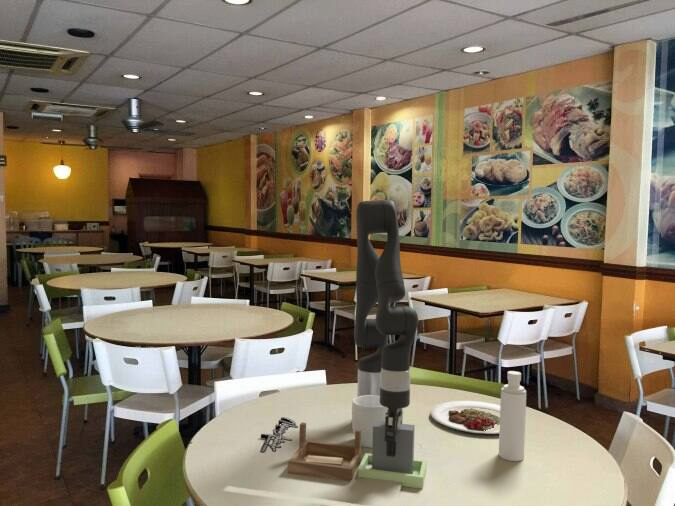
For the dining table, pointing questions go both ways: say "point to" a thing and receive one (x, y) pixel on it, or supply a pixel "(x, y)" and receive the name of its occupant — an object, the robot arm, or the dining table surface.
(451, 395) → the dining table surface
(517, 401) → the white bottle
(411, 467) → the gray rectangular block
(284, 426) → the nameplate
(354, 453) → the tray
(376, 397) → the mug
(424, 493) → the dining table surface
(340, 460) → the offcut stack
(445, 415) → the plated food
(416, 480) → the holder
